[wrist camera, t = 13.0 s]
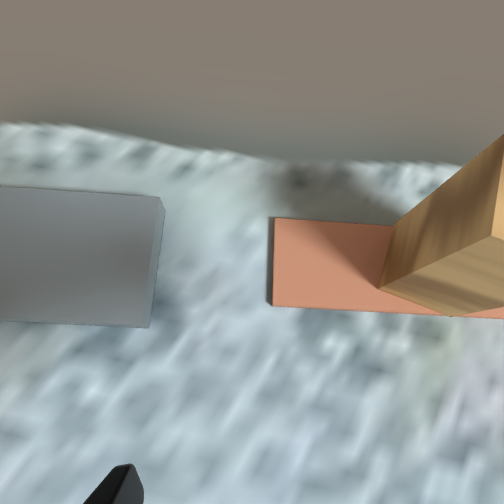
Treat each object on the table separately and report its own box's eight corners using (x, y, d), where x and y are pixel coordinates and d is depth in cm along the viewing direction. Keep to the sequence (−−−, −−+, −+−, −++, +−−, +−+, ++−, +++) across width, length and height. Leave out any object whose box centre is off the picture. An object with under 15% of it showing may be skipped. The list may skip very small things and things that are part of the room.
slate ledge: (165, 210, 23) (159, 197, 21) (149, 328, 21) (140, 325, 19) (16, 200, 23) (-3, 185, 21) (-19, 319, 20) (-44, 315, 18)
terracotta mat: (546, 239, 24) (552, 236, 24) (566, 322, 23) (573, 321, 22) (274, 220, 23) (275, 217, 23) (271, 306, 22) (273, 304, 21)
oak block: (450, 317, 22) (624, 283, 12) (377, 289, 22) (490, 235, 12) (462, 249, 23) (625, 172, 14) (394, 223, 23) (507, 131, 14)
